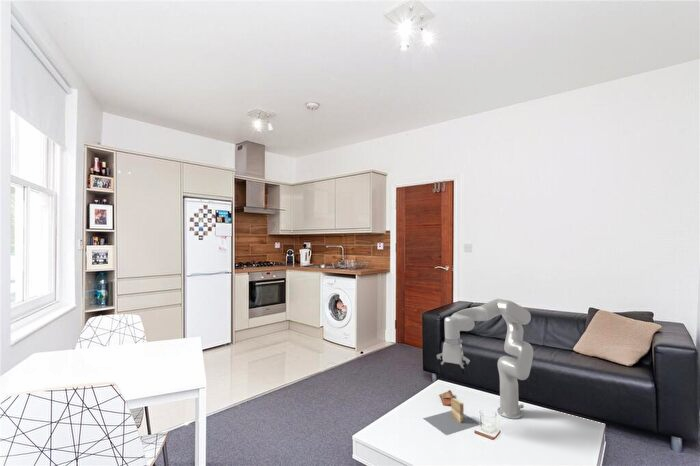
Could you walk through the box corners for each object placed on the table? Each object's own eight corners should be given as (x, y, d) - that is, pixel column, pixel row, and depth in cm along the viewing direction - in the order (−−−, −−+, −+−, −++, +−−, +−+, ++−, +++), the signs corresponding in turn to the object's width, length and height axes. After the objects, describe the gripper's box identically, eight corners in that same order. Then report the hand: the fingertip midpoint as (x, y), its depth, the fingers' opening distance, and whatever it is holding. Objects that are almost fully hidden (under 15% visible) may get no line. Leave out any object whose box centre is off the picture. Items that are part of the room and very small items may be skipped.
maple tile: (454, 416, 195) (454, 398, 195) (463, 421, 188) (463, 403, 189) (451, 417, 193) (450, 398, 194) (460, 423, 187) (460, 404, 188)
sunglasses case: (438, 394, 224) (443, 385, 224) (447, 400, 224) (453, 391, 224) (442, 407, 206) (448, 397, 206) (453, 414, 206) (459, 404, 206)
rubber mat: (456, 410, 203) (456, 409, 203) (481, 425, 186) (481, 424, 186) (422, 419, 192) (422, 418, 192) (446, 436, 175) (446, 435, 175)
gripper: (470, 341, 183) (471, 374, 183) (438, 337, 193) (439, 368, 192) (467, 345, 177) (468, 379, 177) (434, 340, 186) (434, 372, 186)
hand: (453, 373), depth 184 cm, fingers open, 9 cm apart
